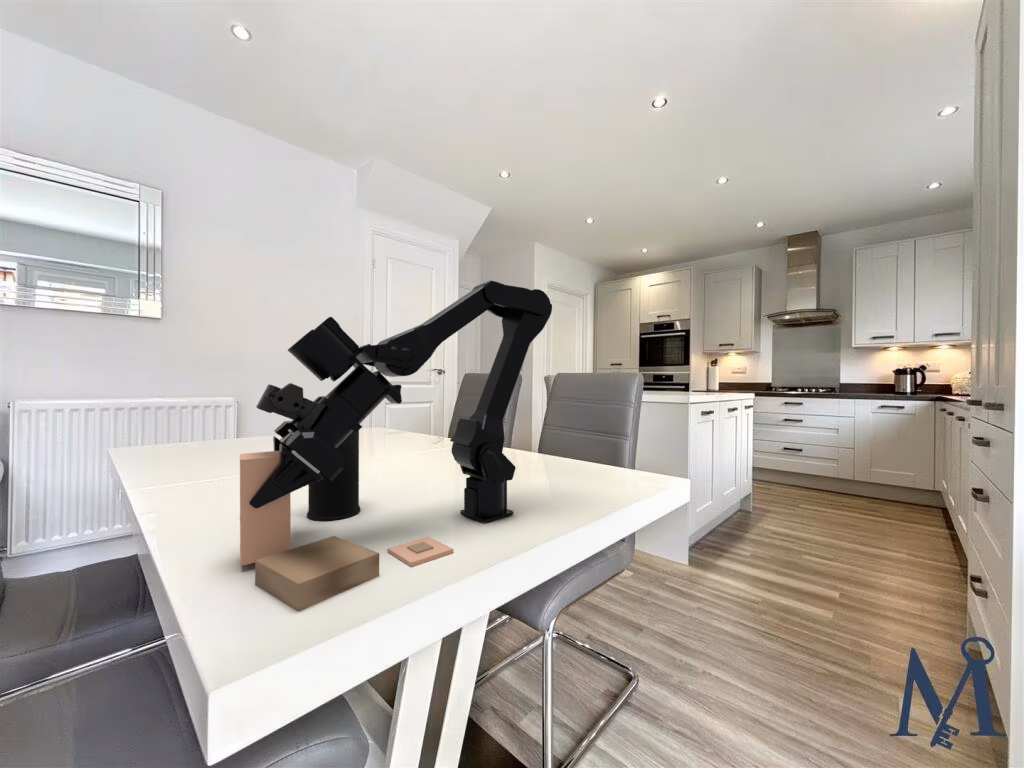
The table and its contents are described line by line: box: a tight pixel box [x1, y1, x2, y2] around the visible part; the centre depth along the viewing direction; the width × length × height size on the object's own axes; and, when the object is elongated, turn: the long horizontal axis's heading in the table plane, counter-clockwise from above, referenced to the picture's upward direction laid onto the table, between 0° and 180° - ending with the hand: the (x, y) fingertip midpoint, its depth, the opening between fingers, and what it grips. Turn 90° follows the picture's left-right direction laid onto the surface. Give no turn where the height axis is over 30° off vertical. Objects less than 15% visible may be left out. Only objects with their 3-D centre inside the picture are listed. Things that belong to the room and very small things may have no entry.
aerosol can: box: [306, 392, 361, 522], centre depth 69 cm, size 8×8×20 cm
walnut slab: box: [254, 535, 380, 613], centre depth 45 cm, size 9×9×3 cm
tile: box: [386, 535, 454, 568], centre depth 52 cm, size 6×6×1 cm
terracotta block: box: [239, 450, 292, 566], centre depth 50 cm, size 5×5×12 cm
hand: (251, 500), depth 49 cm, fingers closed on terracotta block, 5 cm apart
